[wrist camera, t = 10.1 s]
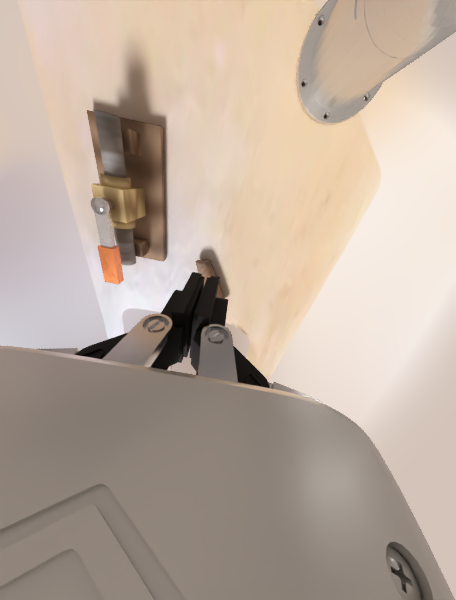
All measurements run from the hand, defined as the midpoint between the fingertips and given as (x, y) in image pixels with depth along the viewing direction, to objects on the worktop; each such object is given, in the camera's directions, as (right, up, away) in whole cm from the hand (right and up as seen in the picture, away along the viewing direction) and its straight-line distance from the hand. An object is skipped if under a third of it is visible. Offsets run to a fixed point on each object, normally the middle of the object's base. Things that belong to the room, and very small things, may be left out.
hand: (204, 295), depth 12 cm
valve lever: (-19, +10, +21) cm, 31 cm away
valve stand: (-18, +21, +26) cm, 38 cm away
